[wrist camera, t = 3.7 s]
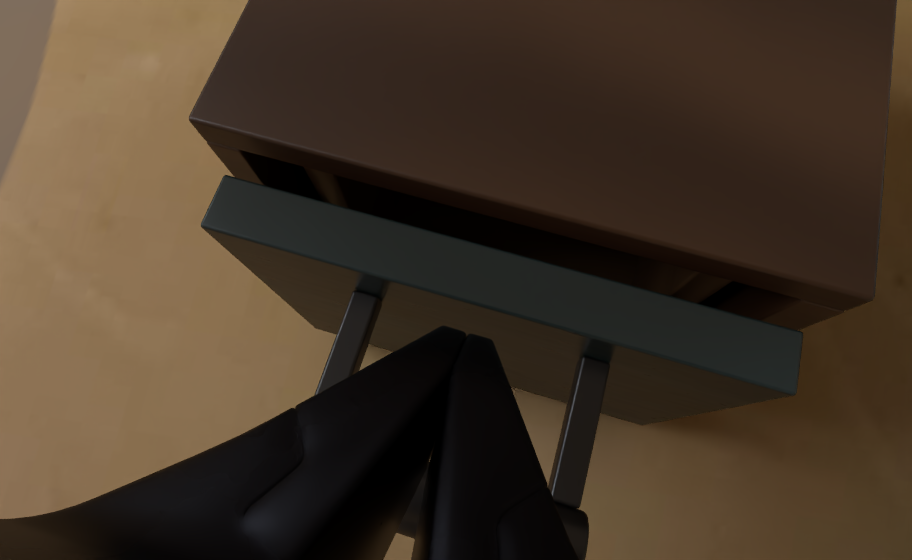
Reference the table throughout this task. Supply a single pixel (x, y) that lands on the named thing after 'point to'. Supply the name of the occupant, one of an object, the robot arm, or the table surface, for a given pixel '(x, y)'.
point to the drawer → (506, 310)
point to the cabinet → (590, 125)
